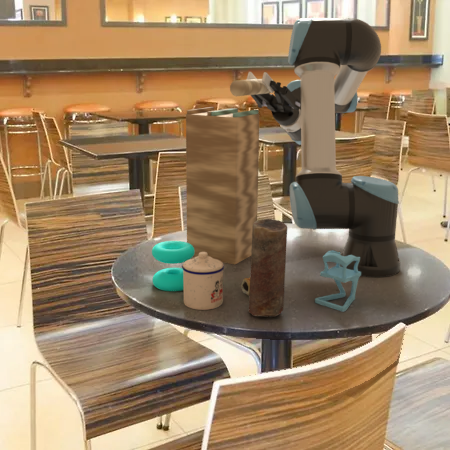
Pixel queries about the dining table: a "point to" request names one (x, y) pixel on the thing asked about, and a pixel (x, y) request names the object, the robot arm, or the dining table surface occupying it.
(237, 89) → the cream rounded cylinder
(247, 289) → the pastry
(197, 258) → the teacup with lid
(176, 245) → the donuts
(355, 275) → the chair
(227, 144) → the tall wooden crate
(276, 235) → the brown upright cylinder
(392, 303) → the dining table surface
